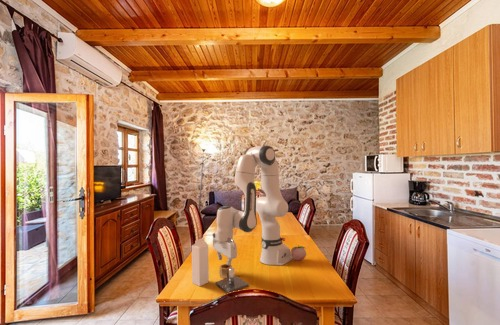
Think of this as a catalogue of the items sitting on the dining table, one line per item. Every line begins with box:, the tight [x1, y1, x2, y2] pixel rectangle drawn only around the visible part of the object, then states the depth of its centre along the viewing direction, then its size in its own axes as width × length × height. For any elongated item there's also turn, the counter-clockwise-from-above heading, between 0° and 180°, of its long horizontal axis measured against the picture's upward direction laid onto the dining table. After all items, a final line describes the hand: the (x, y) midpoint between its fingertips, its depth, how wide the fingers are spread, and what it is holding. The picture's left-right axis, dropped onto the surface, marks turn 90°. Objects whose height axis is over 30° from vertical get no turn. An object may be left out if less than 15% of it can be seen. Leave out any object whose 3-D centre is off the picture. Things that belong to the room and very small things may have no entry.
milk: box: [191, 237, 210, 287], centre depth 128 cm, size 6×6×22 cm
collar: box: [219, 263, 233, 279], centre depth 136 cm, size 6×6×5 cm
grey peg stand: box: [214, 267, 250, 294], centre depth 125 cm, size 12×12×8 cm
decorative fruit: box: [290, 245, 307, 263], centre depth 154 cm, size 9×8×10 cm
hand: (224, 262), depth 135 cm, fingers open, 8 cm apart
